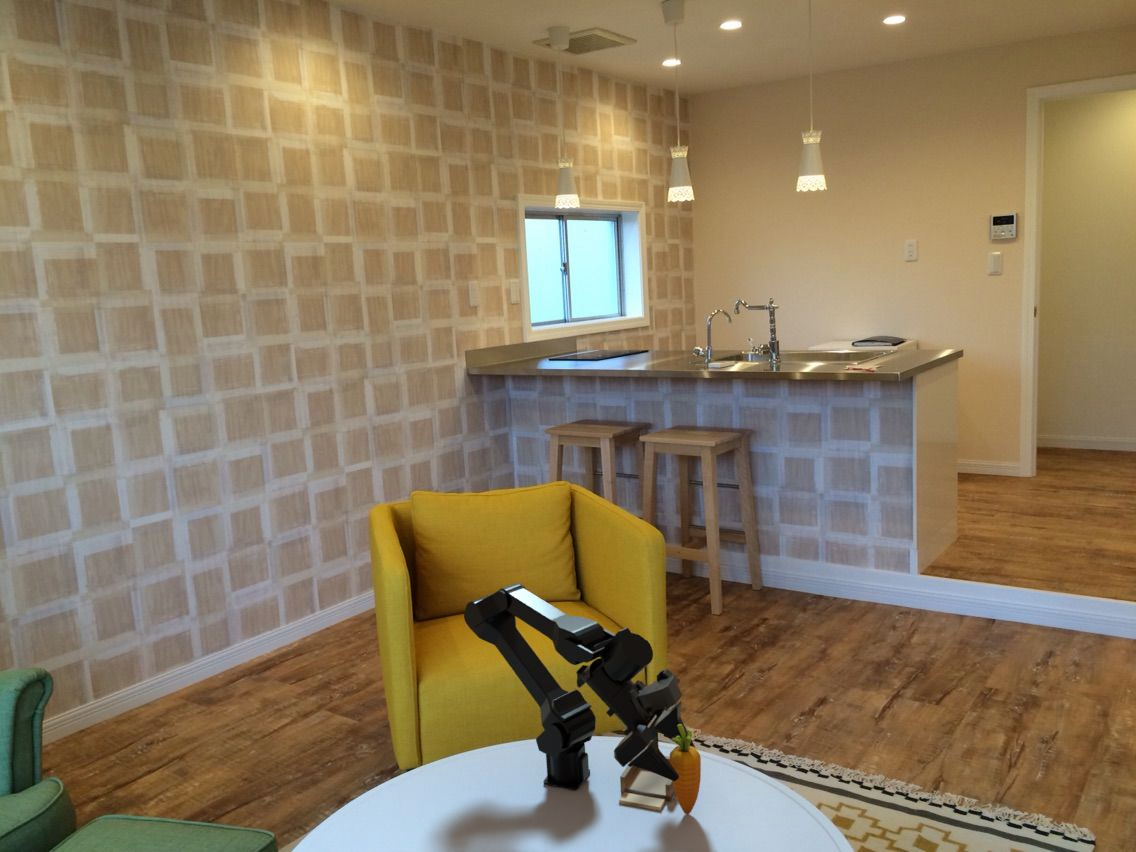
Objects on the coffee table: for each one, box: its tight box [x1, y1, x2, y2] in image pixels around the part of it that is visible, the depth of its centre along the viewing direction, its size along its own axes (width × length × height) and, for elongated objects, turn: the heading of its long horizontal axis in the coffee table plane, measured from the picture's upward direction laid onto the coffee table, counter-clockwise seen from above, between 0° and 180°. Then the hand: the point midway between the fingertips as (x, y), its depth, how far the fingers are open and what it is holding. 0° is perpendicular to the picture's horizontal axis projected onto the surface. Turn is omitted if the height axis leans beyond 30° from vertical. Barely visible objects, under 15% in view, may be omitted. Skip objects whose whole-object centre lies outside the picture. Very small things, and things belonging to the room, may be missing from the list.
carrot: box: [669, 724, 702, 816], centre depth 149 cm, size 5×5×15 cm
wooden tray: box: [618, 755, 676, 812], centre depth 158 cm, size 9×12×3 cm
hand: (685, 764), depth 149 cm, fingers open, 9 cm apart
